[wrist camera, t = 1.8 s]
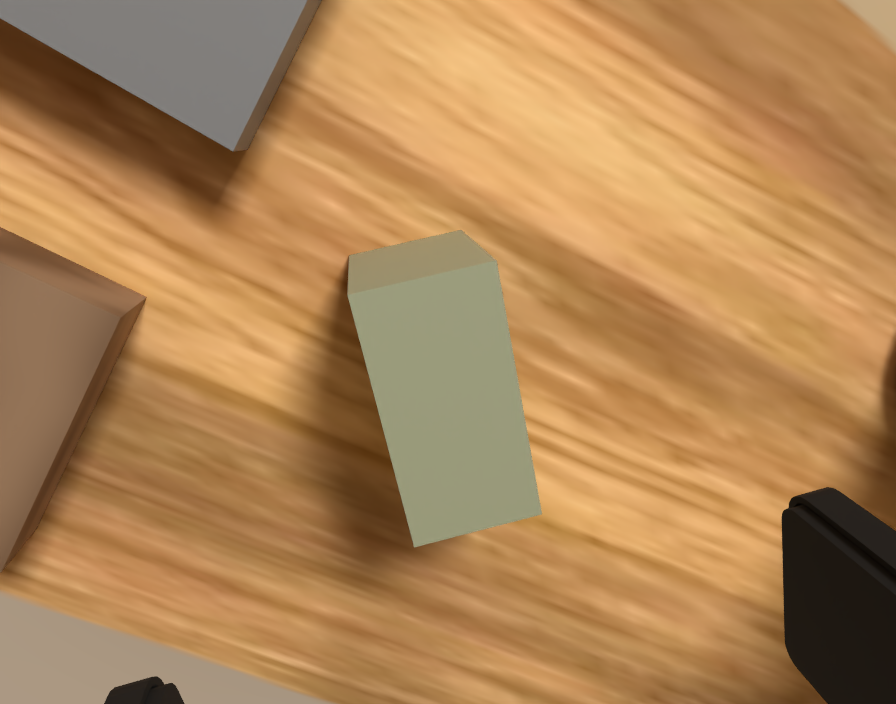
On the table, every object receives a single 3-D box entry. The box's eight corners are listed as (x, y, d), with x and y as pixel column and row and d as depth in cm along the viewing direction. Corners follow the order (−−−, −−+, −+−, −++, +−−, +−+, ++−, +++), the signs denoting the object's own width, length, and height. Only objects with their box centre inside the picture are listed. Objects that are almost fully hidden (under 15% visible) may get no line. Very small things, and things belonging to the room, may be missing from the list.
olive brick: (460, 229, 23) (496, 260, 17) (499, 429, 25) (541, 514, 20) (348, 255, 22) (347, 294, 17) (400, 454, 25) (414, 547, 19)
